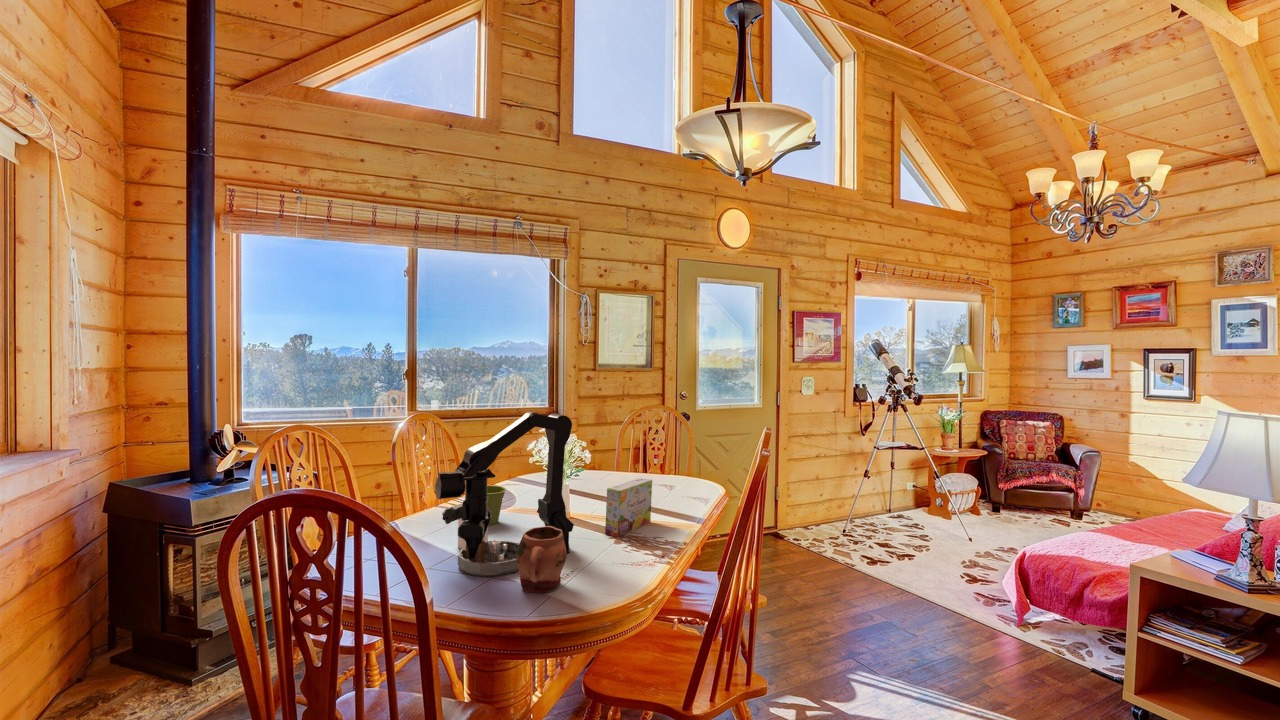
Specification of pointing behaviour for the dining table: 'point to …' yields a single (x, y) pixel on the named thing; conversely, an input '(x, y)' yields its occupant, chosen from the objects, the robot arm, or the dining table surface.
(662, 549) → the dining table surface
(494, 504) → the plant pot
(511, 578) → the dining table surface
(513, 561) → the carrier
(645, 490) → the snack box
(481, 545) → the bronze pinion
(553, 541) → the terracotta mug
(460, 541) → the jar
